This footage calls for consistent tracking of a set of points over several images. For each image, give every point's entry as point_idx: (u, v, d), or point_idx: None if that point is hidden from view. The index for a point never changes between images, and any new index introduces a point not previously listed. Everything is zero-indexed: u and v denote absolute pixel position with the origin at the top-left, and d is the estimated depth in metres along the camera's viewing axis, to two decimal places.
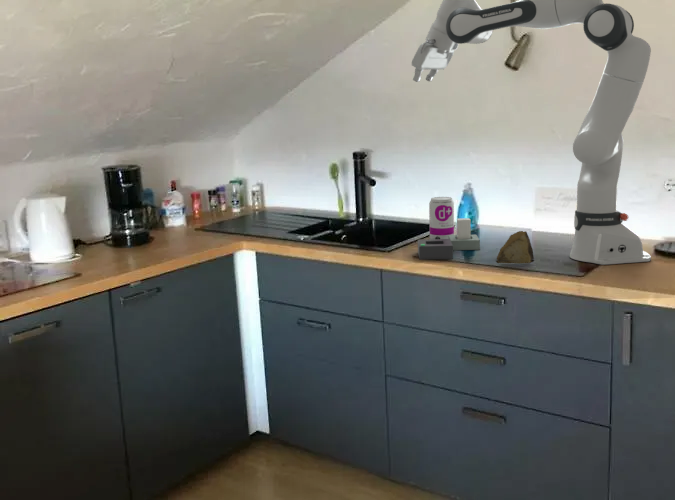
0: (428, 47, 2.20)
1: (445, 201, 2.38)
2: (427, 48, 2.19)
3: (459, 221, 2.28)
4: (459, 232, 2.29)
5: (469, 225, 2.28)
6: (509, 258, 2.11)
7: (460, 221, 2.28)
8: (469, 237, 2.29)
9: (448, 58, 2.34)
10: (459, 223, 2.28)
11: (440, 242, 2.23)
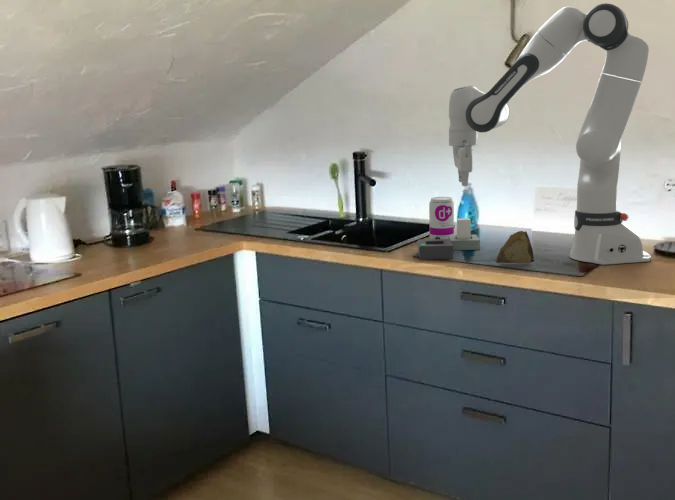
0: (469, 148, 2.16)
1: (445, 201, 2.38)
2: (469, 150, 2.16)
3: (459, 221, 2.28)
4: (459, 232, 2.29)
5: (469, 225, 2.28)
6: (509, 258, 2.11)
7: (460, 221, 2.28)
8: (469, 237, 2.29)
9: None
10: (459, 223, 2.28)
11: (440, 242, 2.23)
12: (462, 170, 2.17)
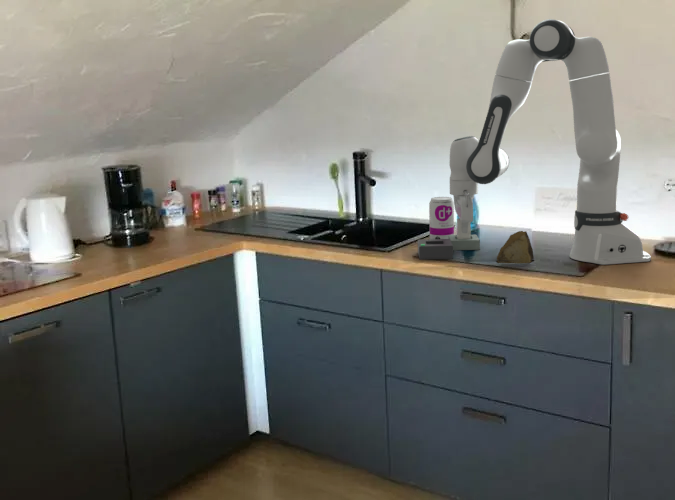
0: (470, 199, 2.19)
1: (445, 201, 2.38)
2: (470, 200, 2.19)
3: (459, 221, 2.28)
4: (459, 232, 2.29)
5: (469, 225, 2.28)
6: (509, 258, 2.11)
7: (460, 221, 2.28)
8: (469, 237, 2.29)
9: None
10: (459, 223, 2.28)
11: (440, 242, 2.23)
12: (463, 220, 2.20)
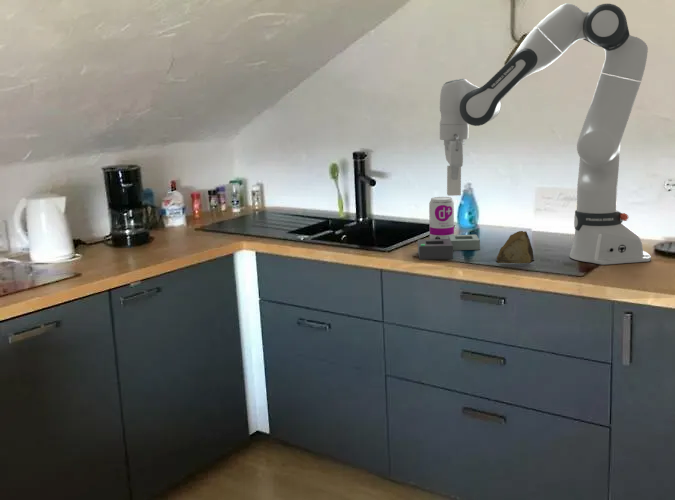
0: (460, 142, 2.13)
1: (445, 201, 2.38)
2: (460, 144, 2.12)
3: (449, 167, 2.22)
4: (449, 179, 2.22)
5: (459, 172, 2.22)
6: (509, 258, 2.11)
7: (450, 168, 2.22)
8: (459, 184, 2.22)
9: None
10: (449, 170, 2.22)
11: (440, 242, 2.23)
12: (452, 164, 2.13)
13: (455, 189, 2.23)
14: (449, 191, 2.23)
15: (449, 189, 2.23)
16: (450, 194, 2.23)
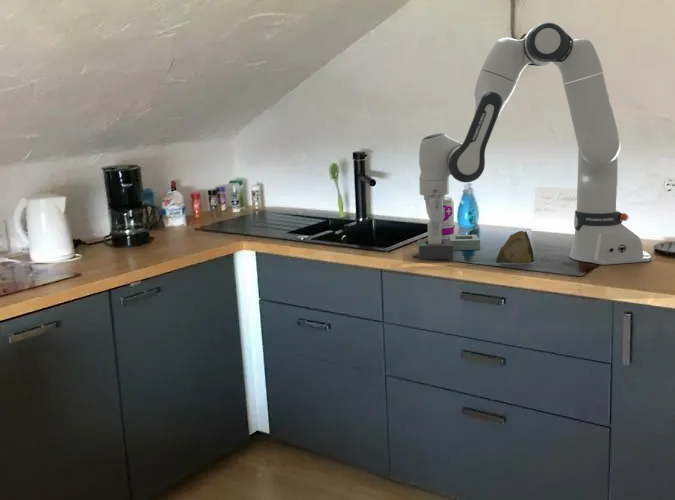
0: (440, 199, 2.09)
1: (445, 201, 2.38)
2: (440, 201, 2.09)
3: (429, 225, 2.18)
4: (430, 237, 2.19)
5: (440, 229, 2.18)
6: (509, 258, 2.11)
7: (431, 225, 2.18)
8: (440, 242, 2.19)
9: None
10: (429, 227, 2.18)
11: None
12: (432, 221, 2.09)
13: None
14: None
15: None
16: None
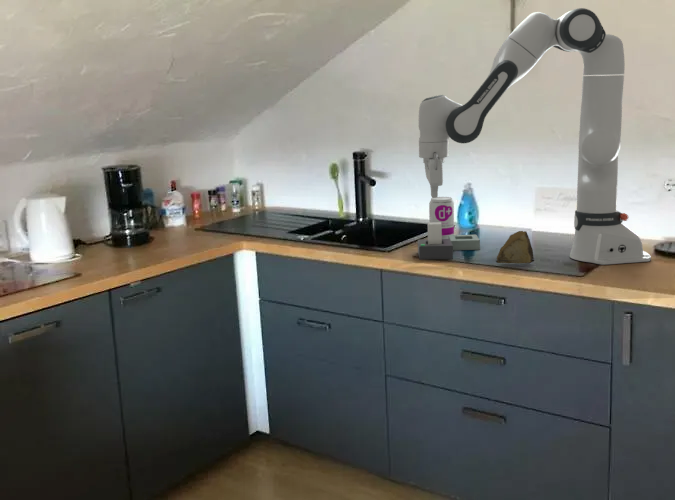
0: (439, 161, 2.06)
1: (445, 201, 2.38)
2: (439, 162, 2.06)
3: (429, 225, 2.18)
4: (430, 237, 2.19)
5: (440, 229, 2.18)
6: (509, 258, 2.11)
7: (431, 225, 2.18)
8: (440, 242, 2.19)
9: None
10: (429, 227, 2.18)
11: None
12: (432, 183, 2.07)
13: None
14: None
15: None
16: None
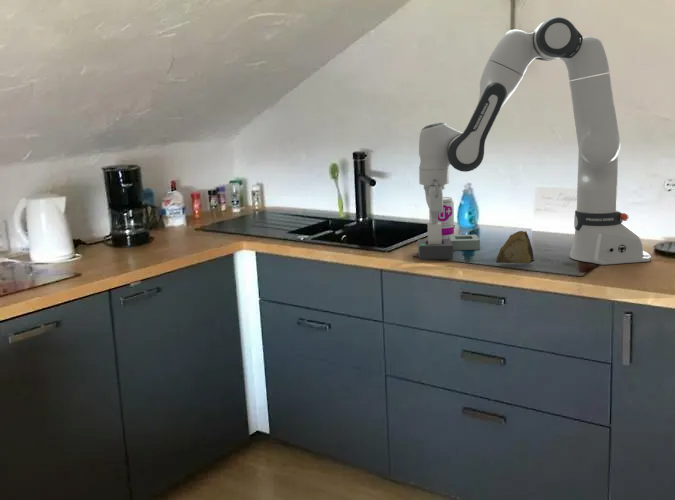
0: (439, 188, 2.08)
1: (445, 201, 2.38)
2: (439, 190, 2.08)
3: (429, 225, 2.18)
4: (429, 237, 2.19)
5: (440, 229, 2.18)
6: (509, 258, 2.11)
7: (430, 225, 2.18)
8: (440, 242, 2.19)
9: None
10: (429, 227, 2.18)
11: None
12: (432, 211, 2.09)
13: None
14: None
15: None
16: None
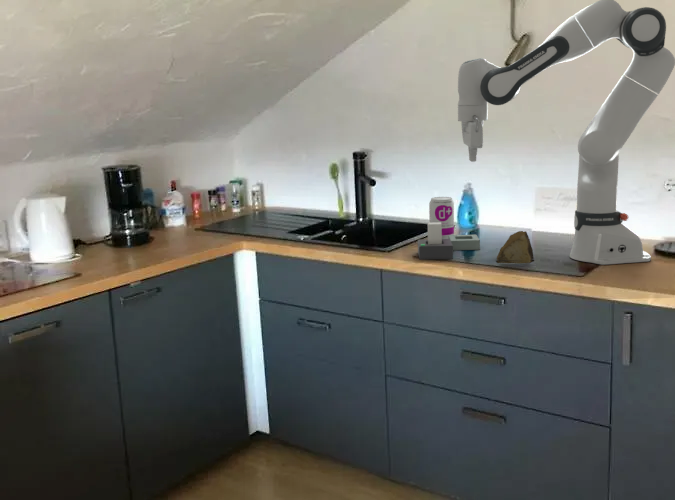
0: (480, 123, 2.07)
1: (445, 201, 2.38)
2: (480, 124, 2.07)
3: (429, 225, 2.18)
4: (430, 237, 2.19)
5: (440, 229, 2.18)
6: (509, 258, 2.11)
7: (431, 225, 2.18)
8: (440, 242, 2.19)
9: None
10: (429, 227, 2.18)
11: None
12: (472, 146, 2.08)
13: None
14: None
15: None
16: None
